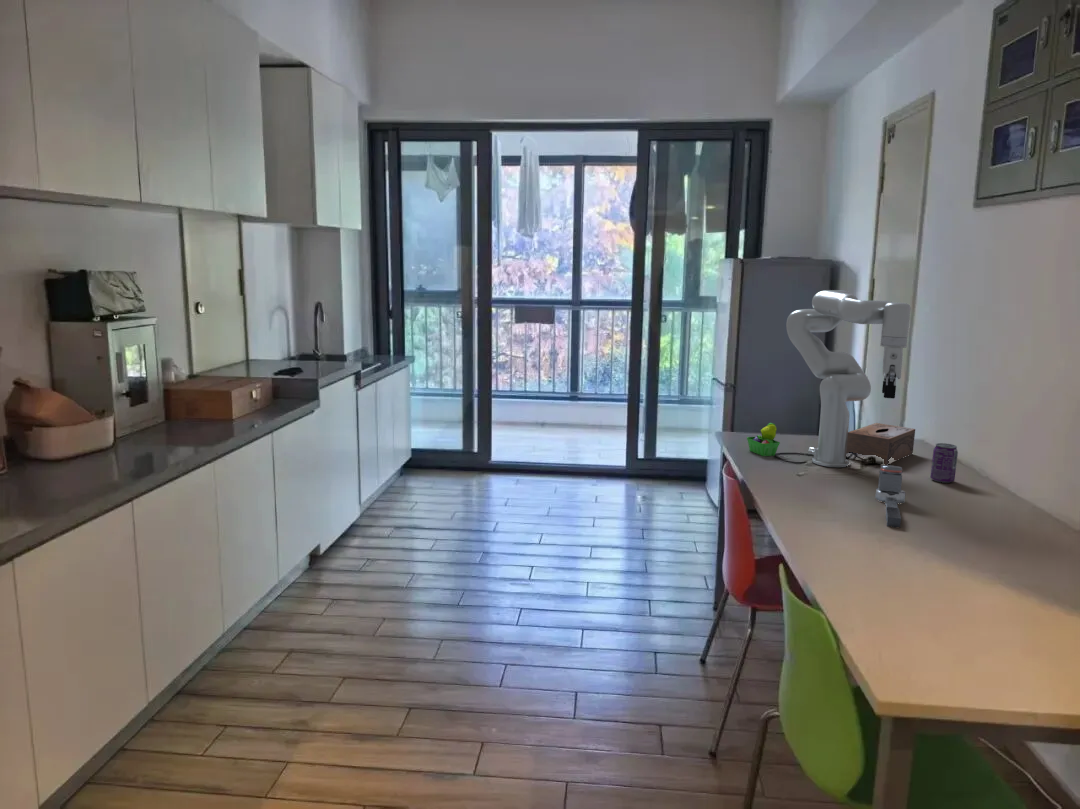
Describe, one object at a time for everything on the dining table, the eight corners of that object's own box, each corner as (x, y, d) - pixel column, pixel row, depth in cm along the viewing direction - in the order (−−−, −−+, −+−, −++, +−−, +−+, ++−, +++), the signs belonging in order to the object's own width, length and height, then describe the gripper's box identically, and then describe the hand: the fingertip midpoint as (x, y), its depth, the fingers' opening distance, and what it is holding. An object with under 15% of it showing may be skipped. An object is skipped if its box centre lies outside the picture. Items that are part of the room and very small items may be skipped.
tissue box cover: (885, 466, 271) (888, 439, 269) (845, 459, 280) (848, 432, 279) (912, 455, 289) (915, 429, 287) (873, 448, 299) (876, 422, 297)
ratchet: (909, 529, 205) (912, 505, 204) (877, 525, 208) (879, 501, 207) (903, 498, 233) (905, 477, 232) (874, 495, 236) (876, 474, 234)
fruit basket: (744, 450, 290) (746, 420, 288) (765, 448, 293) (767, 419, 290) (761, 457, 279) (764, 427, 277) (782, 456, 282) (785, 426, 280)
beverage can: (948, 478, 256) (953, 443, 254) (958, 484, 249) (962, 448, 247) (926, 477, 257) (930, 442, 255) (935, 483, 250) (939, 447, 248)
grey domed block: (900, 492, 226) (903, 469, 226) (879, 490, 228) (881, 466, 228) (899, 489, 232) (901, 466, 231) (877, 487, 234) (880, 464, 233)
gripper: (909, 345, 234) (903, 400, 237) (904, 340, 249) (899, 392, 253) (882, 343, 236) (876, 398, 239) (879, 339, 252) (874, 390, 255)
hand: (888, 395), depth 246 cm, fingers open, 9 cm apart
